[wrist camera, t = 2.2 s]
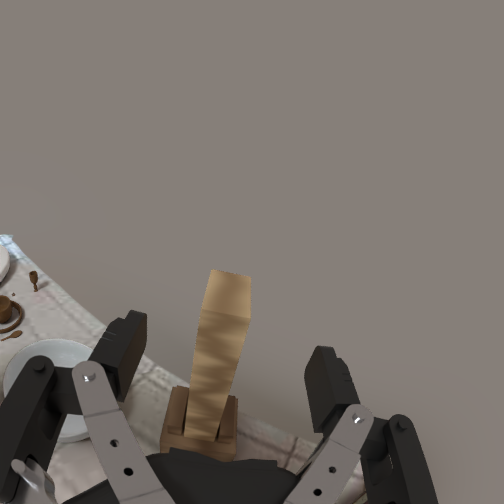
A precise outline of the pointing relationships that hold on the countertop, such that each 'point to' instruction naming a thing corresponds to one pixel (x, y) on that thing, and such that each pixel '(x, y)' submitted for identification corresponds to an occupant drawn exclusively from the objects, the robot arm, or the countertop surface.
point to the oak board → (217, 351)
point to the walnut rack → (217, 450)
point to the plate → (4, 262)
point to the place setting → (3, 307)
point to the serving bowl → (61, 356)
